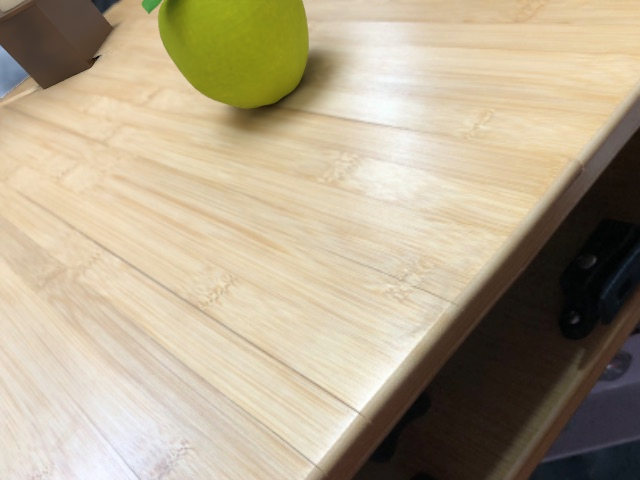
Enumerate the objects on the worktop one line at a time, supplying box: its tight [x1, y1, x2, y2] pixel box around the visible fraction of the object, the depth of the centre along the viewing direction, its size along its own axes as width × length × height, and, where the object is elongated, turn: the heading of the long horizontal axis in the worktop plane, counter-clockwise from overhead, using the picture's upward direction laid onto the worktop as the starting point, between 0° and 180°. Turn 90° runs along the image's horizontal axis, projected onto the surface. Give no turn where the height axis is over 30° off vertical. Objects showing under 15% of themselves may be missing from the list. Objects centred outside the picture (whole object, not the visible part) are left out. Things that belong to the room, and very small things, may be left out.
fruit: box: [141, 0, 310, 109], centre depth 41 cm, size 9×9×10 cm
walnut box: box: [0, 0, 114, 90], centre depth 70 cm, size 8×8×8 cm
